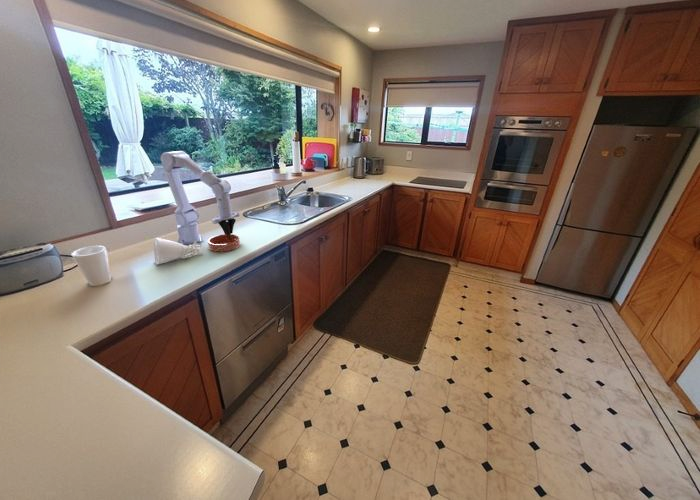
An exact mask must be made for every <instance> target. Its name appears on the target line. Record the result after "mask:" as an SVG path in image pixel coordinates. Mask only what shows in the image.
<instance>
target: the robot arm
mask: <svg viewBox="0 0 700 500" xmlns="http://www.w3.org/2000/svg"><path fill="white" fill-rule="evenodd" d="M159 160H160V161H161V164H162V168H163V173H164V175H165V177H166V181H167V183H168V186H169V188H170V191H171V194H172V196H173V199H174V202H175V205H176V209H175V210H174V216H175V222H176V224H177V225H176V230H177V233H178V241H179V243H180V244H183V245H188V244H194V242H197V243H200V242H202V238H201V235H200V232H199V226H198V223H199V222H198V221H199V220H200V215H199V212H198V211H197V210H196V207H195V206H194V205H192V204H190V202H189V199H188V196H187V193H186V191H185V188H184V184H183V183H182V180H181V176H180V174H179V172H180V170H181V169H182V168H186V169H187V170H189V171H191V172H192V173H194V174H195V175H196V176H198V177H199V180H200V181H201V182H202V183H203V184H205V185H206V186H207V187H209V188H210V189H211V191H212V193H213V194H214V196H215V199H216V205H217V210H218V216H217V217H214V218H212V219H211V223H212V225H217V224H218V225H219V226H220V228H221V229H222V231H223V234H226V235H229V230H228V225H229V226H230V232H231V234H233V232H234V227H235V224H236V222H237V220H236V218H239V217H240V212H238V211H235V212H232V205H231V197H230V192H231V190H232V187H231V183H229V182H228V181H227V180H224V179H223V180H222V179H221V178H219V177H217V176H216V175H215V174H214V173H213V171H211V170H205V169H203V168H202V167H201V166H200V165H198V164H197V163H196V162H195V161H194V160H193V159H192V158H191V156H190V155H189V154H187V153H186V151H184V150H176V151H165V152H163V153H162V154H161V156H160V159H159ZM226 221H229V222H226Z"/></svg>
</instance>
